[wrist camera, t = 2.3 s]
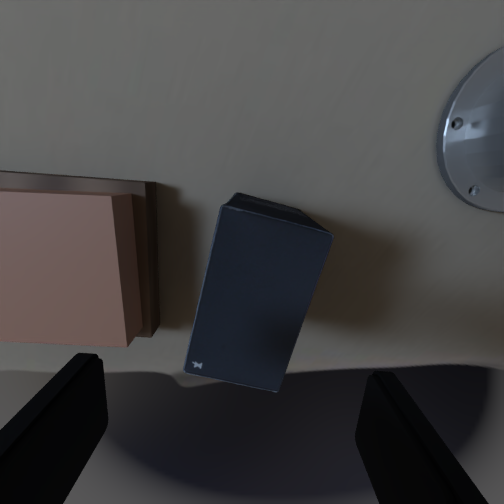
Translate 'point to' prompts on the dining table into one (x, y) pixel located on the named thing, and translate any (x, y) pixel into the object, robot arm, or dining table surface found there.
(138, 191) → the walnut slab
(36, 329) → the terracotta slab
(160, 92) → the dining table surface
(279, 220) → the small box
